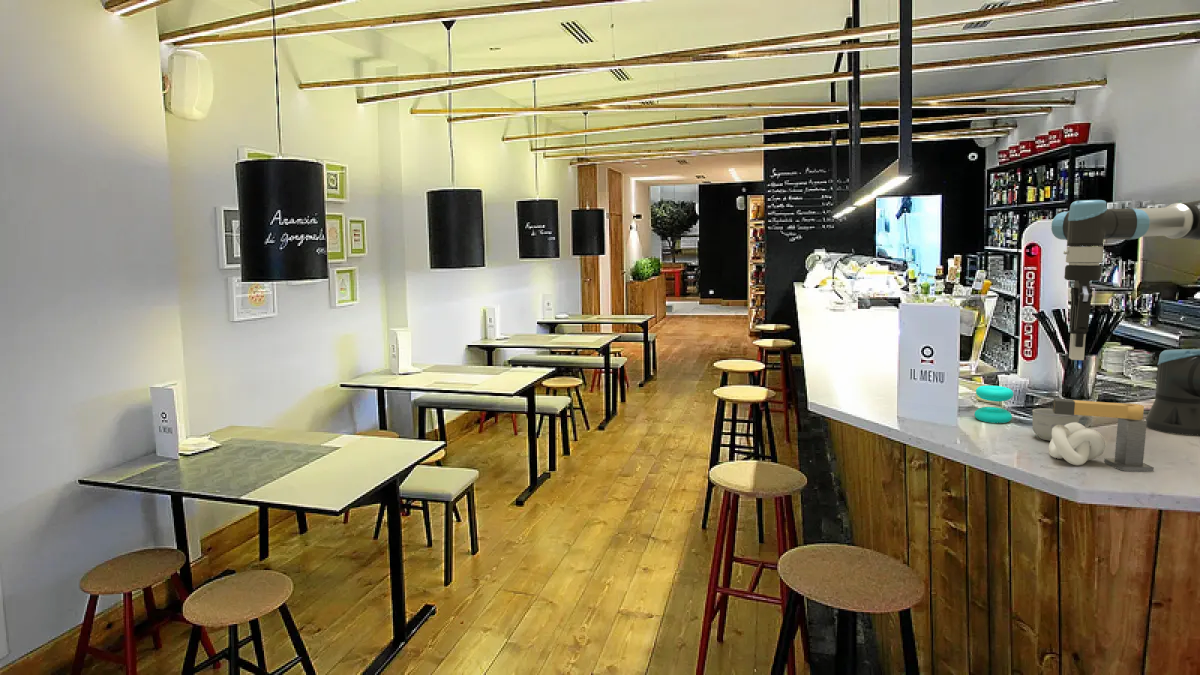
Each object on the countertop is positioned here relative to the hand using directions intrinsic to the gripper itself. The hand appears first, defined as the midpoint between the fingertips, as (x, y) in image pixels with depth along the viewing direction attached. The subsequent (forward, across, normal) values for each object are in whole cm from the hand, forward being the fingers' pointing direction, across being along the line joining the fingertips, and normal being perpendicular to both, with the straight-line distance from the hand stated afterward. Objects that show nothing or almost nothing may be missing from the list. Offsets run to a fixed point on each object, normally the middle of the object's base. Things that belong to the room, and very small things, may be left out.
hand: (1076, 358), depth 182 cm
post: (+24, +7, +11) cm, 28 cm away
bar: (+13, +7, +4) cm, 15 cm away
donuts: (+25, -32, -15) cm, 44 cm away
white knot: (+25, +7, -1) cm, 26 cm away
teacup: (+25, -15, 0) cm, 29 cm away
